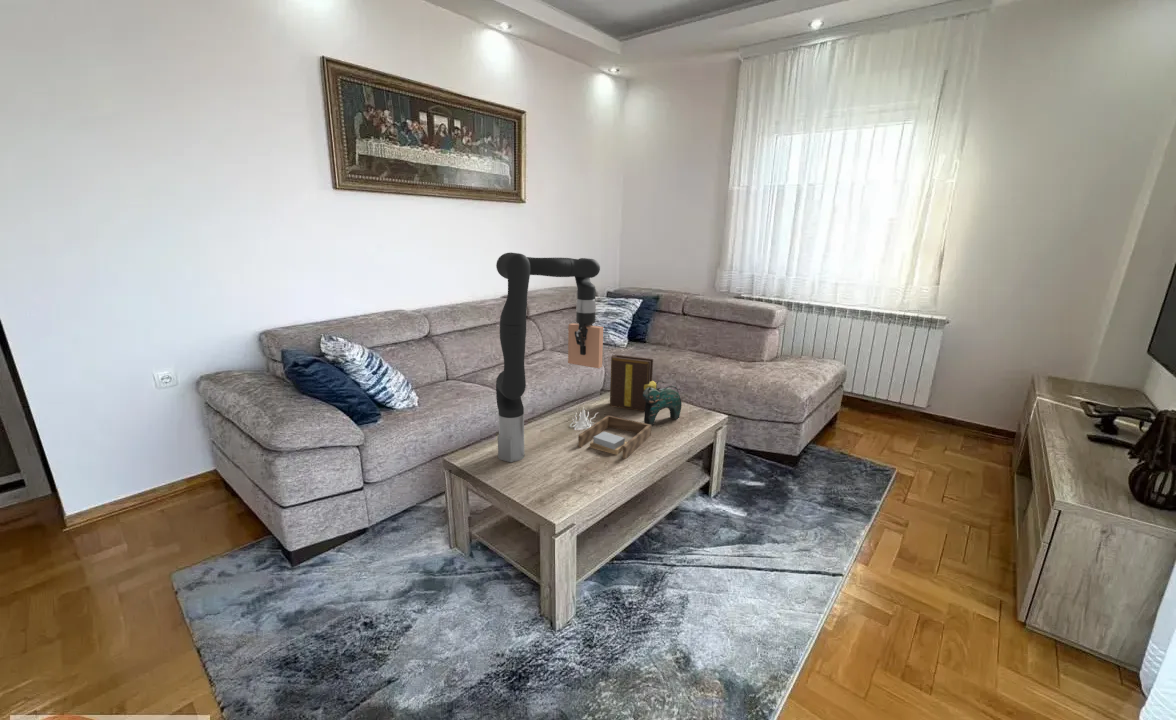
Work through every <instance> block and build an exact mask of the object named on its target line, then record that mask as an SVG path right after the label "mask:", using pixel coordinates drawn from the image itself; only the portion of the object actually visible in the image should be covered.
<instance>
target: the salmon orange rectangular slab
mask: <svg viewBox="0 0 1176 720" xmlns="http://www.w3.org/2000/svg"><path fill="white" fill-rule="evenodd" d="M567 328H568V332H567V333H568V338H567V339H568V341H567V343H568V344H567V348H568V349H567V350H568V351H567V352H568V353H567V363H568V364H571V365H577V366H582V367H587V368H593V369H594V368H595V369H600V368H602V367H603V352H604V351H603V348H604V347H603V346H604V326H597V325H593V326H591V325H590V326H586V329H588V333H587V340H586V354H585V355H581V354H580V345H578V344H577V342H576V338H575V331H578V328H579V323H569V324H568V327H567ZM583 338H585V337H583ZM579 341H580V340H579ZM583 342H584V340H583Z"/></svg>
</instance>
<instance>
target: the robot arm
mask: <svg viewBox="0 0 1176 720" xmlns="http://www.w3.org/2000/svg"><path fill="white" fill-rule="evenodd" d="M599 263H600V262H598V261H597V260H596V259H593V258H586V257H580V258H572V257H531V256H526V255H525V254H524V253H523V254H522V253H519V252H505V253H503V254H502V255H500V256H499V257H498V258H497V260H496V264H495V266H496V271H497V272H498V274H499V275H500V276H501V277H502V278H504V279H505V280H506V279H507V296H506V300H505V302H504V305H503V307H502V311H501V313H500V319H499V341H500V347H501V351H502V356H503V370H502V371H501V372H499V374H497V377H496V381H495V394H496V405H497V410H498V435H497V456H498V457H497V458H498V460H500V461H504V462H507V463H513V462H518V461H520V460H522V459H524V458H525V410H524V409H525V408H524V407H525V406H524V404H523V401H522V396H523V395H524V393H525V391H526V388H527V385H526V383H527V382H526V370H525V355H526V354H525V353H526V339H527V338H526V337H527V311H528V310H527V309H528V308H527V307H528V290H529V283H530V279H531V278H530V277H531V276H543V277H553V278H571V277H572V278H573V277H574V279H575V284H576V287H577V291H576V293H577V295H576V296H577V297H576V307H575V308H576V309H575V310H576V312H575V313H576V314H575V315H576V317H575V321H576V324H579V328H578V331H575V338H576V342H577V344H578V345H580V354H581V355H585V354H586V340H587V333H588V329H586V326H590V325H591V326H594V325H593V324H595V323H596V314H597V313H596V311H597V306H596V305H597V304H596V286H595V284H593V283H592V281H591V279H593V278H595V277H597V276H598V275H599V273H600V271H601V265H600V264H599ZM583 337H585V338H583ZM579 340H580V341H579ZM583 340H584V342H583Z"/></svg>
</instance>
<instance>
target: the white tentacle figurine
mask: <svg viewBox="0 0 1176 720" xmlns="http://www.w3.org/2000/svg"><path fill="white" fill-rule="evenodd" d="M597 414H598V412H595V414H594V416H593V417H590V412H589V411H587V415H586V410H585V406H583V408H582V410H581V411H580V413H579V414H578V413H577V412H576V411H575V415H574V418H575V419H574V418H573V417H572V422H571V423H570V424H569V428H573V430H574V431H577V430H578V431H583V430H587V429H588V428H590V427H591V426H593V425H594V424H596V422H594V421H593V420H594V419H595V418H596V417H597V416H596V415H597ZM577 416H579V417H577ZM589 417H590V418H589ZM592 421H593V422H592ZM572 425H573V426H572Z"/></svg>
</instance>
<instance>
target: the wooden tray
mask: <svg viewBox="0 0 1176 720" xmlns="http://www.w3.org/2000/svg"><path fill="white" fill-rule="evenodd" d="M592 425H593V426H591V427H590V428H588V429H584V431H583V432H581V433H580V434H578V438H577V440H578V441H577V442H578V444H577V446H578V448H582V447H584V446H586V444H588V443H590V442H592V441H593V440H594V436H596V435H598V434H600V433H602V432H605V431H606V430H607V429H608V428H613V429H616V430H620V431H626V432H629V433H633V434H635V435H634V436H633V437H632V438H630V440H628V441H626V442H627V443H626V444H625V445H624V446H623V450H622V459H624V460H626V459H627V458H628V457H629V456H630V455H632V454H633V453H634V452H635V451H637V449H638V448H639V447H640V446H642V444H644V443H645V442H646V441H647V440H648V439H649V438H650V437H651V436H652V426H653V425H650V424H646V423H644V422H641V421H636V420H631V419H626V418H621V417H617V416H613V415H609V414H607V415H606V416H605V417H603V418H602V419H600V420H599V421H598V422H595V424H594V423H593V424H592Z"/></svg>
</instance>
